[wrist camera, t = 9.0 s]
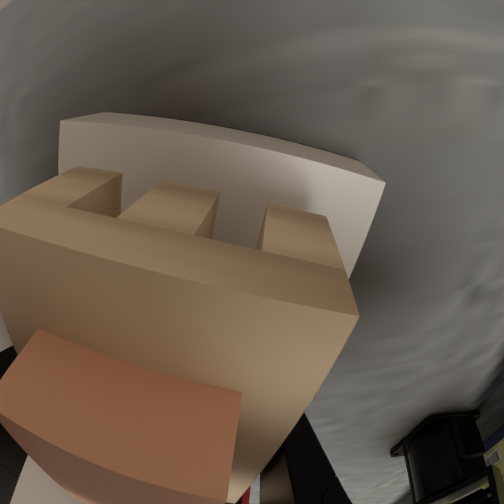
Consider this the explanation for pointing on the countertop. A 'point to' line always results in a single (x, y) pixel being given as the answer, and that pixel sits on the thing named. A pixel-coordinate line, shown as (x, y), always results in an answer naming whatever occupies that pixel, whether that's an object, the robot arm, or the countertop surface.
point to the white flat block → (228, 173)
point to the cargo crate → (118, 426)
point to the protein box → (493, 455)
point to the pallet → (181, 295)
